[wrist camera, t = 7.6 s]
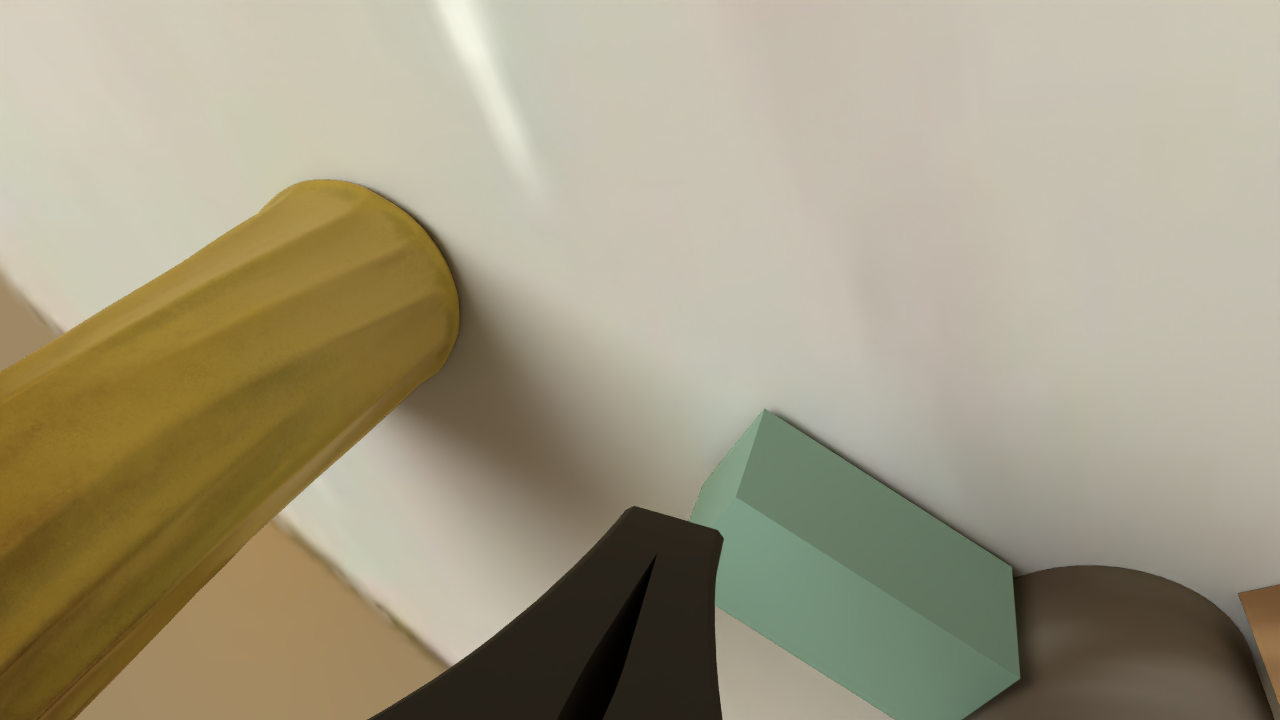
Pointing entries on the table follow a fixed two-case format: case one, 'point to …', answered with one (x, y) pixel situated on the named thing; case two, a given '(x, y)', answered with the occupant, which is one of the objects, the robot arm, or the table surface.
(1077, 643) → the stool base
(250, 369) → the vase
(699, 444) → the table surface
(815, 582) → the folding leg
